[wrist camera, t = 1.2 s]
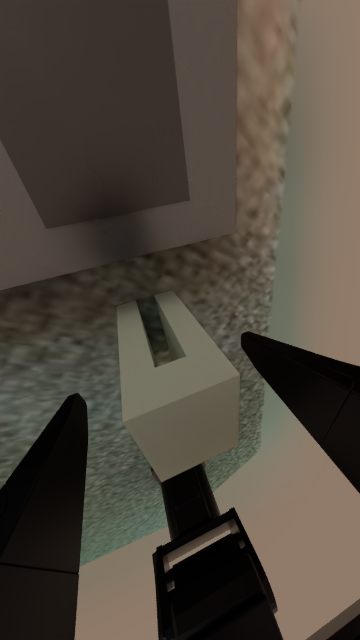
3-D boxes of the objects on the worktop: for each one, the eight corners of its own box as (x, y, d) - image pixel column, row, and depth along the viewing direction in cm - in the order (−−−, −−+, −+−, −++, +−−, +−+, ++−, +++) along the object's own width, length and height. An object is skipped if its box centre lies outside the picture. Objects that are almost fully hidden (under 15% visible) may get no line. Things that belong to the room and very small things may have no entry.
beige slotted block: (183, 345, 14) (238, 444, 8) (138, 361, 14) (161, 482, 7) (172, 289, 12) (240, 374, 6) (116, 306, 11) (122, 422, 5)
